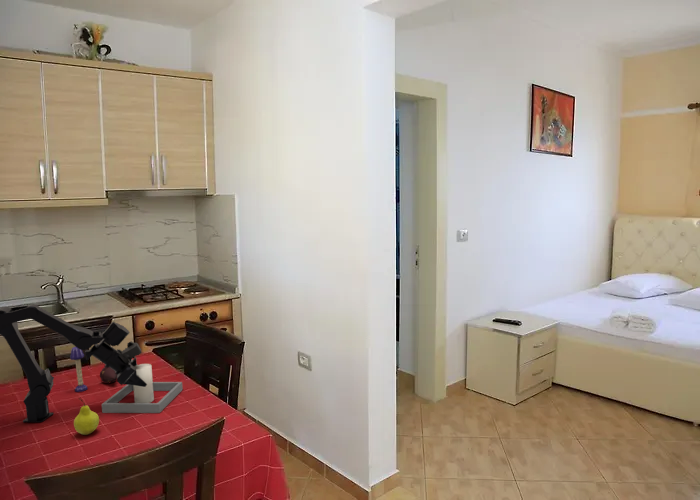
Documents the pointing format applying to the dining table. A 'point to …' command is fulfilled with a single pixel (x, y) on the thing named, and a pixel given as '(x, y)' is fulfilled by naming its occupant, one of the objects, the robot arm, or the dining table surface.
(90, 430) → the fruit
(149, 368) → the white pillar candle
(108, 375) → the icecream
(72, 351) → the toy lamp
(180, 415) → the dining table surface
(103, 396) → the dining table surface
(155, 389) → the frame
